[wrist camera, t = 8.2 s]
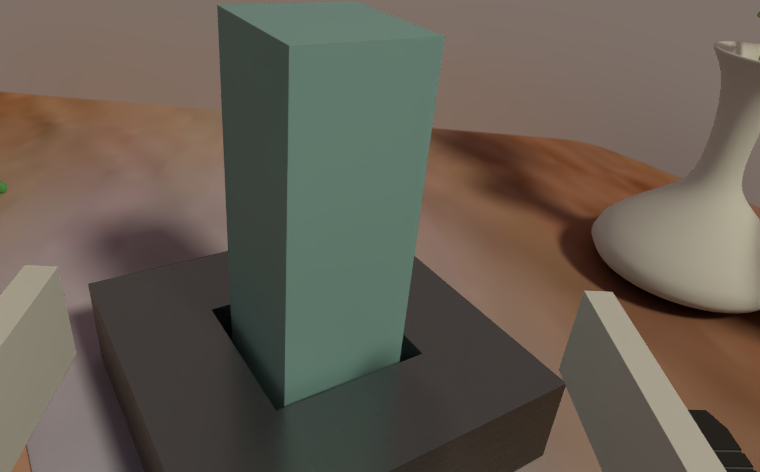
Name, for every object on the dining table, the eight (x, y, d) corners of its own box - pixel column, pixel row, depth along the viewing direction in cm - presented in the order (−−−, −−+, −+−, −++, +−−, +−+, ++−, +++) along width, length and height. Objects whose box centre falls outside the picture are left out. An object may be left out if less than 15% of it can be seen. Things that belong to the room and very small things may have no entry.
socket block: (101, 356, 28) (88, 284, 26) (363, 279, 35) (369, 217, 33) (210, 643, 18) (202, 563, 16) (542, 455, 25) (566, 383, 23)
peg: (234, 386, 27) (217, 4, 19) (333, 351, 29) (356, 1, 21) (283, 469, 23) (289, 46, 15) (391, 421, 26) (444, 36, 18)
